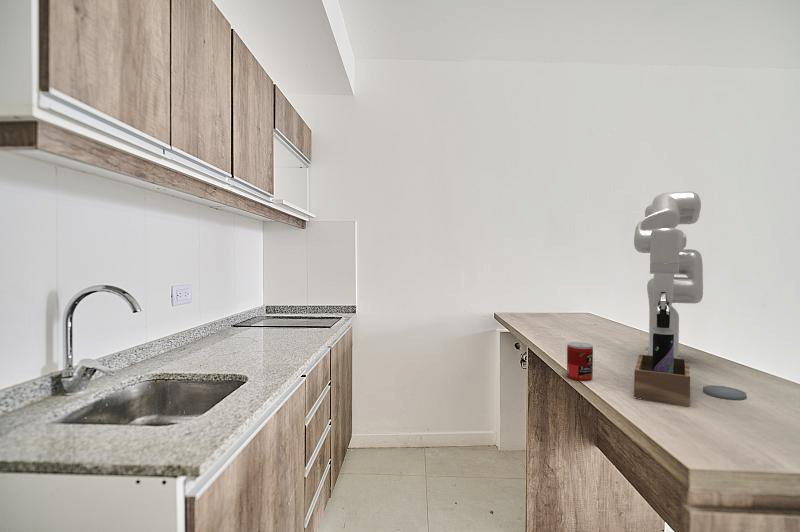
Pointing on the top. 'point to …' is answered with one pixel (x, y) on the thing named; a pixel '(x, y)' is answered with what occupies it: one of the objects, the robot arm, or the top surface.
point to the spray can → (663, 350)
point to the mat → (724, 392)
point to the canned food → (580, 361)
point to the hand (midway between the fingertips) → (663, 325)
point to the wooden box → (662, 382)
